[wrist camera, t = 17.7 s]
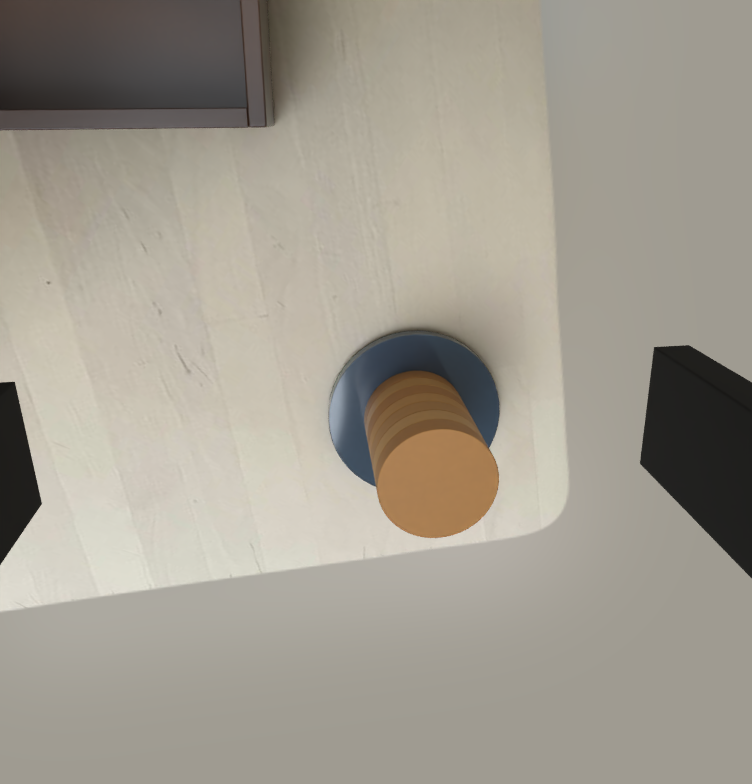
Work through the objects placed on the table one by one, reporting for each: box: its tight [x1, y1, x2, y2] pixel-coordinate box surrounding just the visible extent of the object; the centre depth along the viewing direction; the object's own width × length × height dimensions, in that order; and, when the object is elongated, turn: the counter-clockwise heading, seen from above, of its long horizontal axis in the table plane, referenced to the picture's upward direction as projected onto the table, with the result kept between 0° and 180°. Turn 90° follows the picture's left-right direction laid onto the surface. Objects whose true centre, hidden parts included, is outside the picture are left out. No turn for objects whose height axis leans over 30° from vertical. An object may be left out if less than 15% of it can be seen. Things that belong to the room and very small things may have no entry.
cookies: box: [364, 371, 499, 538], centre depth 45 cm, size 7×7×10 cm
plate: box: [328, 331, 499, 486], centre depth 50 cm, size 12×12×1 cm
